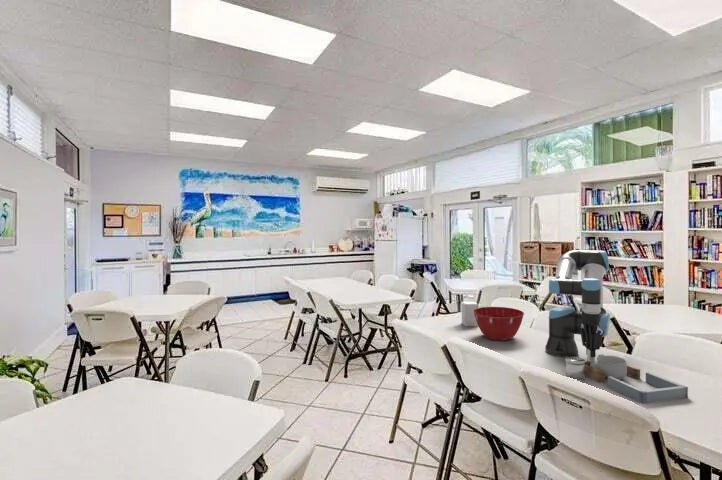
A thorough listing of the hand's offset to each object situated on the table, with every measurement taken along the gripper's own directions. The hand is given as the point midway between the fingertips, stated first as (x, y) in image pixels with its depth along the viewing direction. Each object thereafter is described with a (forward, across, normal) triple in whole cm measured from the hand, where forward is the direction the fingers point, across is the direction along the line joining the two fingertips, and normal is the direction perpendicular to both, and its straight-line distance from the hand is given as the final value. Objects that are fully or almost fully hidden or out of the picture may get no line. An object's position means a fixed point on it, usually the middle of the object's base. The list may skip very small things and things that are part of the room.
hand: (590, 363), depth 176 cm
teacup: (+2, +10, 0) cm, 11 cm away
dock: (+2, +26, 0) cm, 26 cm away
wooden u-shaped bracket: (+2, +9, 0) cm, 9 cm away
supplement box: (+2, -86, -16) cm, 87 cm away
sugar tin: (+2, +8, -16) cm, 18 cm away
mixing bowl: (+2, -54, -14) cm, 56 cm away
